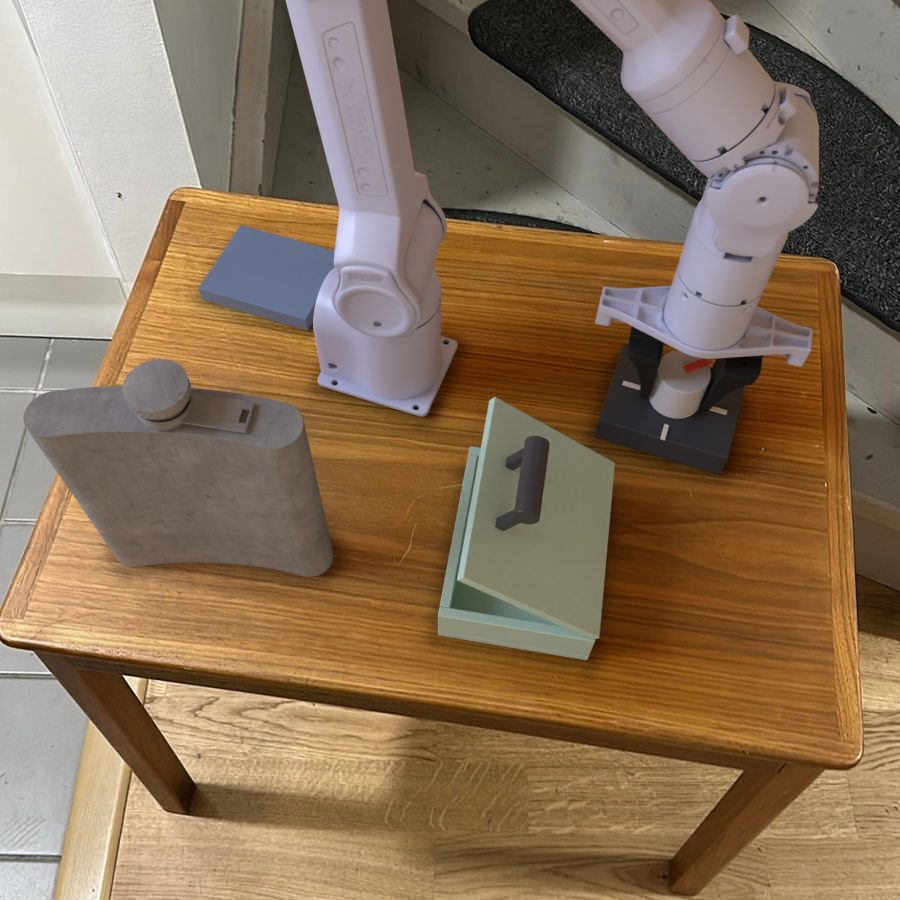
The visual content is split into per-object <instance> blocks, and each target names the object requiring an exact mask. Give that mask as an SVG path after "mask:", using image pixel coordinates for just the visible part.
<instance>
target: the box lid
mask: <svg viewBox="0 0 900 900" xmlns="http://www.w3.org/2000/svg"><path fill="white" fill-rule="evenodd" d="M487 405H488V407H487V412H486V417H485V423H484V428H483V433H482V439H481V444H480V448H481V449H480V455H479V461H478V466H477V472H476V477H475V483H474V488H473V494H472V499H471V505H470V510H469V516H468V522H467V527H466V533H465V538H464V544H463V549H462V555H461V560H460V566H459V571H458V577H457V580H458V581H460V582H462V583H464V584H467V585H469V586H471V587H473V588H476V589H478V590H480V591H482V592H485V593H487V594H489V595H492V596H494V597H496V598H498V599H501V600H503V601H505V602H507V603H510V604H512V605H514V606H516V607H519V608H521V609H523V610H526V611H528V612H530V613H532V614H535V615H537V616H539V617H541V618H544V619H546V620H548V621H550V622H553V623H555V624H557V625H559V626H562V627H564V628H566V629H569V630H571V631H573V632H575V633H578V634H580V635H582V636H584V637H587V638H589V639H591V640H595V641H596V640H598V639H600V636H601V624H602V623H601V622H602V613H603V600H604V590H605V579H606V568H607V556H608V547H609V546H608V545H609V535H610V523H611V512H612V511H611V510H612V500H613V489H614V480H615V479H614V476H615V468H616V467H615V466H616V462H614V461H612V460H611V459H609V458H607V457H605V456H603V455H602V454H600V453H599V452H596V451H594V450H593V449H591V448H589V447H587V446H585V445H584V444H583V443H580V442H578V441H576V440H574V439H573V438H571V437H569V436H567V435H566V434H564V433H561V432H560V431H558V430H556V429H554V428H553V427H551V426H549V425H548V424H545V423H543V422H542V421H540V420H538V419H536V418H535V417H533V416H531V415H529V414H528V413H525V412H524V411H522V410H520V409H518V408H517V407H516V406H515V407H514V406H513V405H511V404H509V403H507V402H505V401H504V400H502V399H500V398H498V397H497V396H494V397H492V398H491V399H489V401H488V404H487Z"/></svg>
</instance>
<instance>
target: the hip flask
mask: <svg viewBox="0 0 900 900" xmlns="http://www.w3.org/2000/svg"><path fill="white" fill-rule="evenodd" d="M22 418H23V425H24V427H25V428H26V430H27V432H29V435H30V436H31V437H32V439H33V441H34V442H35V443H36V444H37V446H38V447H39V449H40V450H41V452H42V453H43V454H44V456H45V457H46V459H47V460H48V462H49V463H50V465H51V466H52V468H53V469H54V470H55V472H56V473H57V475H58V476H59V477H60V480H61V481H62V482H63V483H64V485H65V486H66V488H67V489H68V490H69V491H70V493H71V495H72V496H73V498H74V499H75V501H76V502H77V503H78V505H79V506H80V508H81V509H82V510H83V512H84V513H85V515H86V516H87V518H88V519H89V521H90V522H91V524H92V525H93V527H94V528H95V529H96V530H97V532H98V534H99V535H100V537H101V538H102V539H103V541H104V542H105V544H106V545H107V546H108V548H109V550H110V551H111V553H112V554H113V555H114V556H115V558H116V560H117V561H118V562H119V563H120V564H122V565H123V566H125V567H128V568H142V567H148V566H158V565H166V564H167V565H170V564H192V563H193V564H194V563H195V564H221V565H222V564H223V565H237V566H250V567H256V568H262V569H263V568H264V569H270V570H276V571H281V572H286V573H289V574H293V575H298V576H302V577H305V578H314V577H318V576H321V575H323V574H324V573H326V572H327V571H328V570H329V569H330V567H332V564H333V562H334V556H335V554H334V549H333V545H332V540H331V536H330V531H329V527H328V522H327V518H326V513H325V510H324V504H323V500H322V496H321V492H320V486H319V483H318V477H317V473H316V468H315V464H314V459H313V457H312V456H313V455H312V451H311V448H310V447H311V445H310V441H309V436H308V432H307V429H306V425H305V420H304V416H303V414H302V413H301V411H300V410H299V409H298V408H297V407H296V406H294V405H292V404H290V403H287V402H284V401H279V400H275V399H271V398H266V397H261V396H257V395H252V394H245V393H238V392H232V391H223V390H216V389H207V388H198V387H197V388H195V387H192V383H191V380H190V378H189V377H188V373H187V372H186V369H185V368H184V367H183V366H182V365H180V364H179V363H178V362H176V361H173V360H170V359H169V360H168V359H166V358H165V359H163V358H162V359H161V358H157V359H151V360H146V361H145V362H141V363H139V364H138V365H137V366H135V367H134V368H133V369H131V370H130V371H129V373H128V374H127V375H126V376H125V379H124V380H123V383H122V385H108V386H106V385H105V386H89V387H77V388H67V389H57V390H51V391H47V392H43V393H42V394H40V395H38V396H36V397H35V398H34V399H32V400H31V402H29V403H28V405H27V406H26V408H25V409H24V412H23V416H22Z"/></svg>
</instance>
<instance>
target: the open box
mask: <svg viewBox="0 0 900 900" xmlns="http://www.w3.org/2000/svg"><path fill="white" fill-rule="evenodd" d="M480 449H481V447H478V446H471V445H470V446H469V448H468V453H467V458H466V463H465V469H464V475H463V479H462V485H461V489H460V490H461V492H460V497H459V500H458V506H457V512H456V517H455V521H454V527H453V532H452V539H451V542H450V543H451V544H450V549H449V553H448V559H447V565H446V570H445V575H444V580H443V586H442V591H441V597H440V600H439V601H440V602H439V608H438V611H437V612H438V613H437V636H440V637H445V638H450V639H457V640H464V641H469V642H476V643H481V644H488V645H493V646H499V647H505V648H511V649H517V650H522V651H529V652H533V653H534V652H535V653H542V654H547V655H553V656H559V657H565V658H570V659H577V660H583V661H588V660H589V657H590V655H591V652H592V650H593V647H594V645H595V643H596V639H595V640H591V639H589V638H587V637H584V636H582V635H580V634H578V633H575V632H573V631H571V630H569V629H566V628H564V627H562V626H559V625H557V624H555V623H553V622H550V621H548V620H546V619H544V618H541V617H539V616H537V615H535V614H532V613H530V612H528V611H526V610H523V609H521V608H519V607H516V606H514V605H512V604H510V603H507V602H505V601H503V600H501V599H498V598H496V597H494V596H492V595H489V594H487V593H485V592H482V591H480V590H478V589H476V588H473V587H471V586H469V585H467V584H464V583H462V582H460V581H458V580H457V577H458V571H459V566H460V560H461V555H462V549H463V544H464V538H465V533H466V527H467V522H468V516H469V510H470V505H471V499H472V494H473V488H474V483H475V477H476V472H477V466H478V461H479V455H480Z"/></svg>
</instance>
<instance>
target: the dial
mask: <svg viewBox="0 0 900 900" xmlns="http://www.w3.org/2000/svg"><path fill="white" fill-rule="evenodd" d="M664 354H665V355H664V356H663V357H662V358H661V362H660V365H659V367H658V369H657V371H656V373H655V376H654V378H653V383H652V388H651V393H650V396H649V400H650V403H651V404H652V406H653V407H654V409H655V410H656V411H657V412H659V413H660V414H662V415H664V416H666V417H669V418H674V419H682V418H686V417H689V416H691V415H692V414H694V413H695V412H696V411H697V410H698V408H699V406H700V404H701V401H702V399H703V397H704V394H705V392H706V390H707V387H708V385H709V383H710V380H711V370H710V367H711V366H710V361H709V359H704V358H697V357H693V356H690V355H687V354H685V353H683V352H681V351H679V350H677V349H675V350H672V351H669V352H666V353H664Z"/></svg>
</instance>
